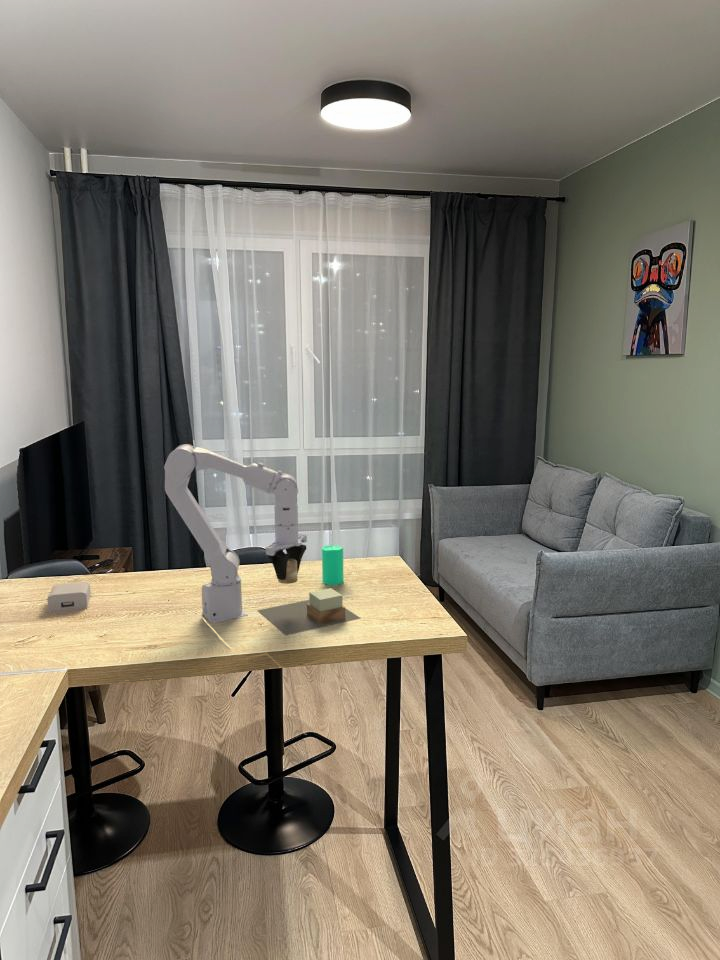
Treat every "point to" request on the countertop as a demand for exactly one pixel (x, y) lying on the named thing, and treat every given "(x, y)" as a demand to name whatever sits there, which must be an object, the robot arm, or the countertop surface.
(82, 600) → the charger
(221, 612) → the robot arm
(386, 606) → the countertop surface
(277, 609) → the mat
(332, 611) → the tower base
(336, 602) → the tower top
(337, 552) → the candle
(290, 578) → the tan rounded cylinder
